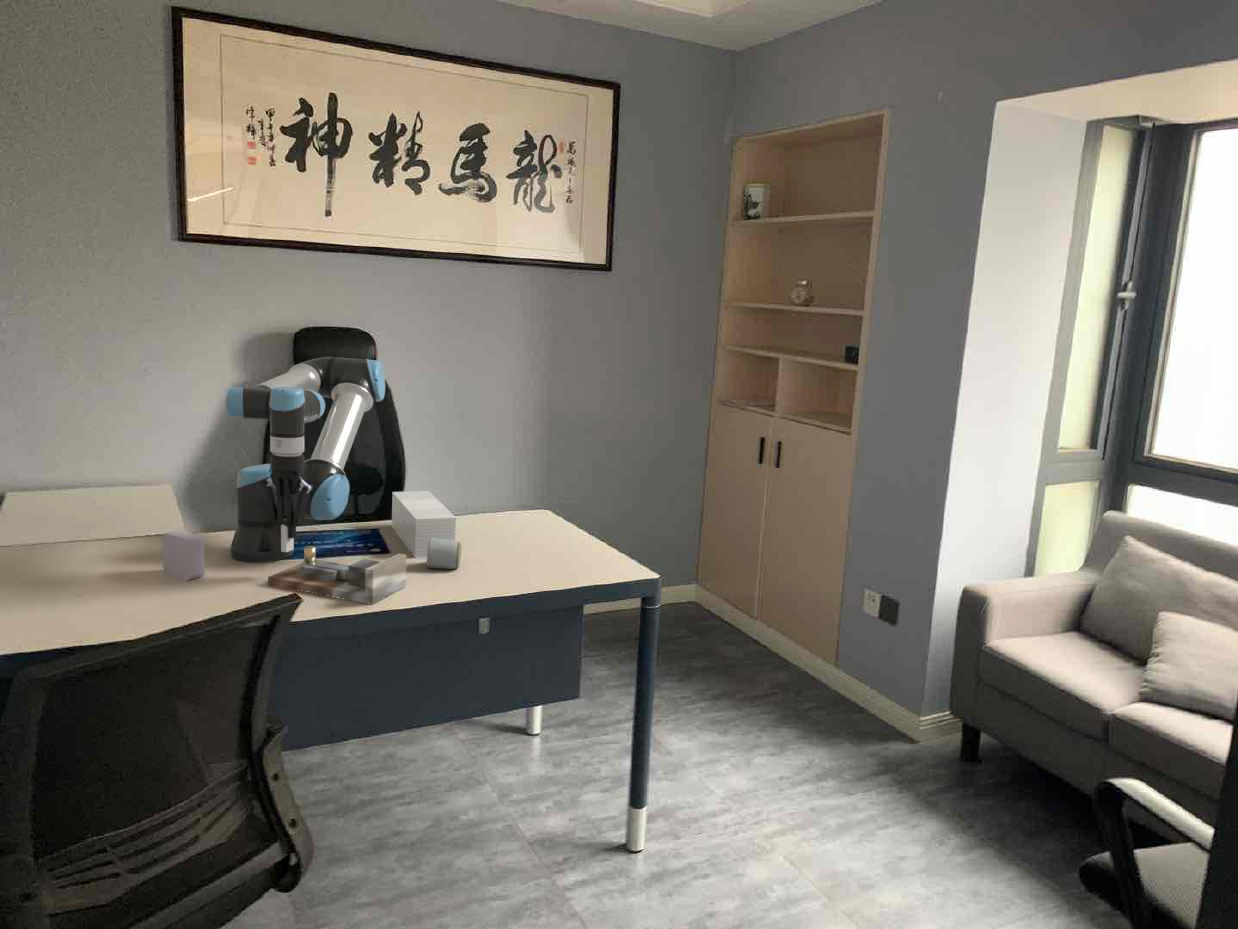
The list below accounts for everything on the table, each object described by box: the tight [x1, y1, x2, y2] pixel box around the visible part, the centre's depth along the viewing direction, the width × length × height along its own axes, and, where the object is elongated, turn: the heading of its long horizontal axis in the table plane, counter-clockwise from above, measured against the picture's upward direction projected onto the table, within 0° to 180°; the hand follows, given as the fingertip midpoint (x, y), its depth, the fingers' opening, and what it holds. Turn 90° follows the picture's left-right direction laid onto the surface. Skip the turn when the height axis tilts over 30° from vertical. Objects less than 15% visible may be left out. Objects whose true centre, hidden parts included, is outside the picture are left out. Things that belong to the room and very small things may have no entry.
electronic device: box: [161, 529, 206, 581], centre depth 215 cm, size 10×5×10 cm, turn 59°
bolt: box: [301, 545, 349, 580], centre depth 215 cm, size 12×3×6 cm, turn 72°
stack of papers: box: [391, 490, 457, 559], centre depth 256 cm, size 32×11×11 cm, turn 25°
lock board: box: [267, 553, 407, 605], centre depth 214 cm, size 28×14×8 cm, turn 72°
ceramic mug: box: [426, 538, 462, 570], centre depth 235 cm, size 11×8×8 cm
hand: (287, 550), depth 218 cm, fingers closed
